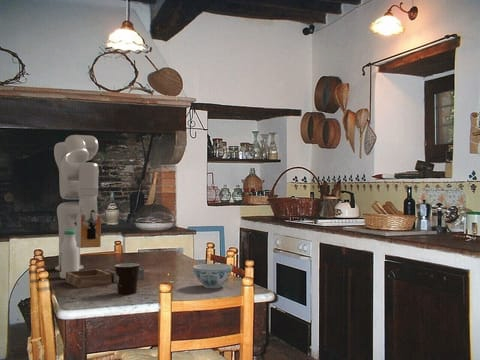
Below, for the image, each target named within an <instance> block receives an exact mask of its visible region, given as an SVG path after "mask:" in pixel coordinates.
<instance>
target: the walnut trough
mask: <svg viewBox="0 0 480 360" xmlns="http://www.w3.org/2000/svg"><path fill="white" fill-rule="evenodd" d="M65 283H67V284H69V285H70V286H71V285H72V286H73V287H75V288H77V289H81V288H90V287H91V288H92V287H100V286H108V285H109V284H110V285H112V282H111V274H110V273H107V272H104V270H101V269H99V268H95V269H85V270H83V269H81V270H79V271H72V272H66V279H65Z"/></svg>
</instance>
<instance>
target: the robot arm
mask: <svg viewBox="0 0 480 360" xmlns="http://www.w3.org/2000/svg"><path fill="white" fill-rule="evenodd" d="M98 151H99V142H98V139H97V137H95V136H93V135H85V134H84V135H83V134H82V135H81V134H73V135H72V134H71V135H69V136H67V137H66V138H65V140H64V141H62V142H58V143H55V145H54V149H53V155H54V159H55V163H56V165H57V168H58V172H59V174H58V175H59V176H58V177H59V195H60V197H61V198H62V199H63V200H64V199H65V200H79V201H67V202H66V201H65V202H62V203H60V204H59V205H58V206H57V208H56V215H57V220H58V221H57V222H58V265H57V266H55V271H59V272H60V249H61V246H62V244H63V241H64V231H66V230H74V231H75V241H76V229H77V224H75V223H77V215H84V222H87V220H88V229H87V239H95V238H96V221H97V214H98V197H99V174H100V170H99V165H98V163H96V162H88V161H90V160H92V159H94V156H96V155H97V153H98ZM89 219H92V221H89ZM90 223H91V224H90ZM78 249H79V271H81V270H83V269H84V265H83V264H81V248H79V247H78Z"/></svg>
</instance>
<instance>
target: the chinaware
mask: <svg viewBox="0 0 480 360" xmlns="http://www.w3.org/2000/svg"><path fill="white" fill-rule="evenodd" d="M192 267H193V272H194V276H195V278H196V279H197V281H198V282H200V283H201V284H202V285H203V286H204V288H205V289H220V288H222V286H223V284H225V283H226V282H227V280H229V278H230V276H231V274H232V271H233V265H231V264H227V263H202V264H195V265H193V266H192Z"/></svg>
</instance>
